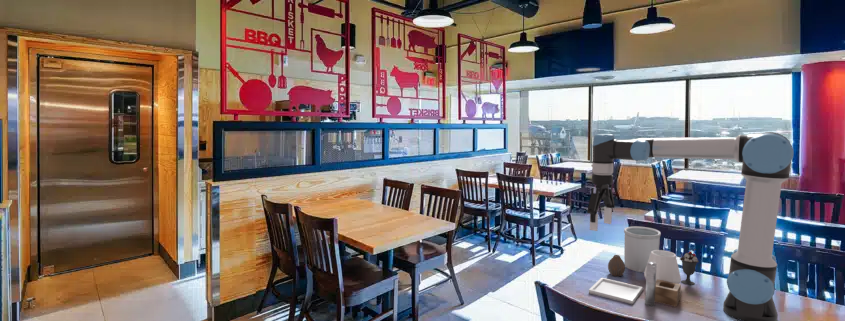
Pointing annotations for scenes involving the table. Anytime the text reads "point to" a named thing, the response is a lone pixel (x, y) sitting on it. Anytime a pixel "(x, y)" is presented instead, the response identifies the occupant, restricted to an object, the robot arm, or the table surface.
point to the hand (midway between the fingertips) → (600, 226)
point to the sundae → (689, 266)
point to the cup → (665, 266)
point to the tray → (616, 290)
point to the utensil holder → (639, 246)
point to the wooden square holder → (667, 292)
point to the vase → (616, 266)
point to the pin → (650, 284)
